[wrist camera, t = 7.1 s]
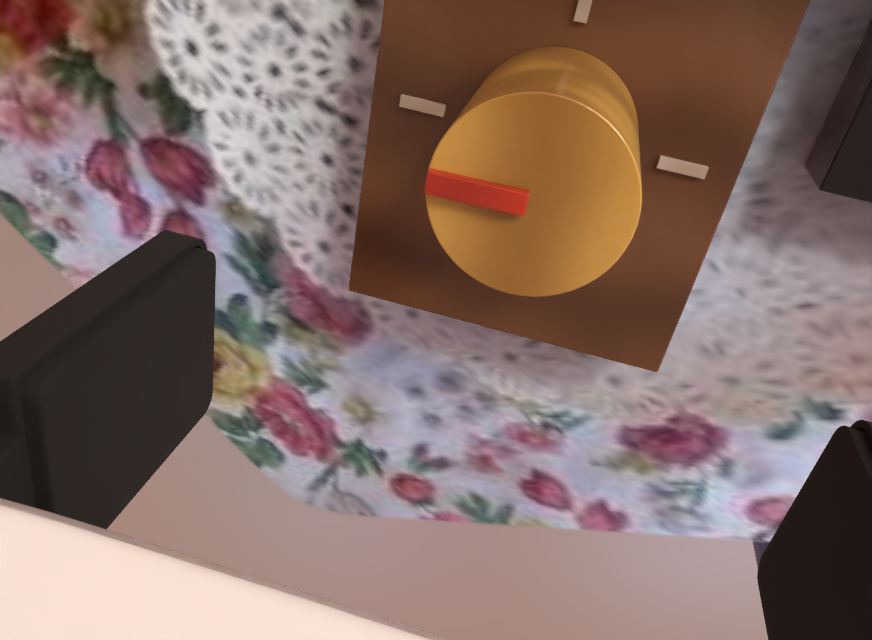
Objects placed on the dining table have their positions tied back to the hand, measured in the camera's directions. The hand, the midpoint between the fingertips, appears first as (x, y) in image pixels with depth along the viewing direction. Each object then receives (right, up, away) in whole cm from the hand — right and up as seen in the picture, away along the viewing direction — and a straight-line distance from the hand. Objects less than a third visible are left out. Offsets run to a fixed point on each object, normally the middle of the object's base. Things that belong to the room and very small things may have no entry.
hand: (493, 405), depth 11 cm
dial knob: (+3, +7, +11) cm, 13 cm away
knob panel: (+3, +8, +13) cm, 16 cm away
